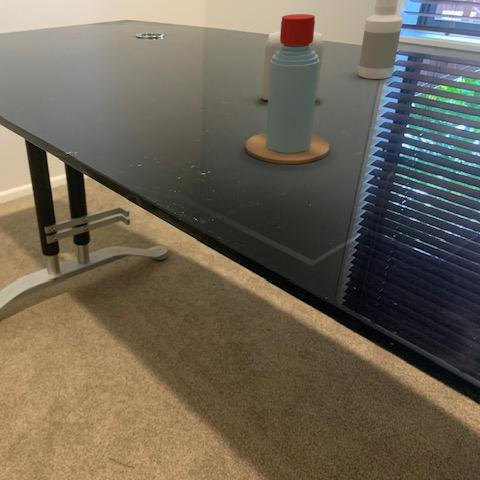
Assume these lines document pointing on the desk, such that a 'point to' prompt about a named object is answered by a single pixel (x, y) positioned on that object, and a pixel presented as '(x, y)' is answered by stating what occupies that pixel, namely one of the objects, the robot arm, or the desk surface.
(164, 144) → the desk surface
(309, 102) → the bottle
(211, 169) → the desk surface
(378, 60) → the beige tall canister
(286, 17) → the bottle cap
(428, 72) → the desk surface
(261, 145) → the coaster
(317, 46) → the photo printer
